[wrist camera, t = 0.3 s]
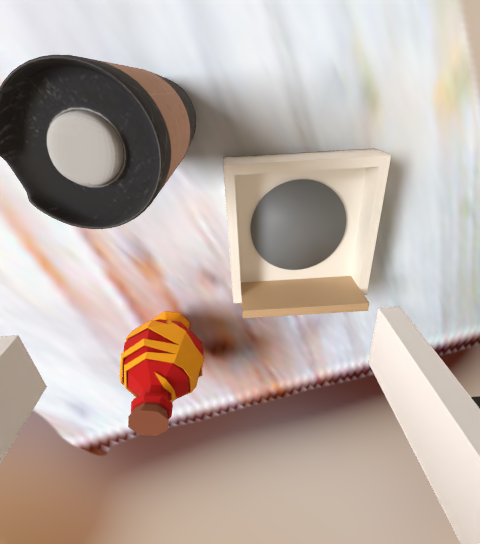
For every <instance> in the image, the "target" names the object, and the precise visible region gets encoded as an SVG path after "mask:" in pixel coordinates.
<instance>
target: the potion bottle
mask: <svg viewBox="0 0 480 544" xmlns="http://www.w3.org/2000/svg"><path fill="white" fill-rule="evenodd" d="M189 326H190V322H189V321H188V320H187V319H186V318H185V317H184V316H183V315H182V314H181V313H174V312H166V311H165V312H163V313H162V314H160V315H159V316H157V317H155V318H154V320H152V321H149V322H147V323H144V324H143V325H141V326H140V327H138V328H136V329H135V330H133V331H132V332H131V333H130V334H129V336H128V337H127V338H126V343H125V345H124V352H123V353H122V354H121V363H120V380H121V383H122V384H124V386H125V388H126V389H127V390H128V391H130V392H131V393H132V394H133V395H134V396H135V397H136V398H135V399H134V400H133V401H132V402H131V414H130V416H129V425H128V427H129V428H131V429H132V430H134V431H135V432H136V433H138V434H139V435H150V436H156V435H159V434H161V433H163V432H165V431H167V430H168V421H169V420H168V419H169V418H170V417H171V415H172V407H173V405H172V402H173V401H174V400H175V399H177V398H179V397H182V396H184V395H186V394H188V393H191V392H192V391H193V390H194V389H195V387H196V385H197V381H198V378H199V376H202V367H203V361H204V357H203V348H202V342H201V341H200V340H199V339H198V338H197V337H196V336H195V335H194V334H193V333H192V332H191V331H190V330H189ZM122 376H123V377H122Z"/></svg>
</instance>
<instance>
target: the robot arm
mask: <svg viewBox="0 0 480 544" xmlns="http://www.w3.org/2000/svg"><path fill="white" fill-rule="evenodd" d="M368 363H369V365H370V367H371V369H372V371H373V373H374V374H375V376H376V378H377V380H378V382H379V384H380V386H381V388H382V390H383V392H384V394H385V396H386V398H387V400H388V402H389V404H390V406H391V408H392V410H393V412H394V414H395V416H396V418H397V420H398V422H399V424H400V426H401V428H402V429H403V431H404V433H405V435H406V437H407V439H408V441H409V443H410V445H411V447H412V449H413V451H414V453H415V455H416V457H417V459H418V461H419V463H420V465H421V467H422V469H423V471H424V473H425V475H426V477H427V479H428V480H429V483H430V484H431V487H432V489H433V491H434V492H435V494H436V496H437V498H438V500H439V502H440V504H441V506H442V508H443V510H444V512H445V514H446V516H447V518H448V520H449V522H450V524H451V526H452V528H453V530H454V532H455V533H456V536H457V538H458V539H459V541H460V544H480V397H470V396H469V394H468V393H467V392H466V391H465V389H464V388H463V387H462V385H461V384H460V383H459V381H458V380H457V379H456V378H455V376H454V375H453V374H452V372H451V371H450V370H449V369H448V368H447V366H446V365H445V364H444V362H443V361H442V360H441V358H440V357H439V356H438V355H437V353H436V352H435V351H434V349H433V348H432V347H431V346H430V344H429V343H428V342H427V340H426V339H425V338H424V337H423V335H422V334H421V333H420V331H419V330H418V329H417V328H416V326H415V325H414V324H413V322H412V321H411V320H410V319H409V317H408V316H407V315H406V314H405V312H404V311H403V310H402V308H401V307H400V306H394V307H381V308H378V313H377V319H376V324H375V329H374V335H373V340H372V345H371V351H370V356H369V361H368ZM46 387H47V386H46V384H45V383H44V381H43V379H42V377H41V375H40V374H39V372H38V370H37V368H36V366H35V365H34V363H33V361H32V359H31V357H30V356H29V354H28V352H27V350H26V348H25V347H24V345H23V343H22V341H21V339H20V338H19V336H18V335H14V336H1V337H0V464H1V462H2V460H3V459H4V457H5V455H6V454H7V452H8V450H9V449H10V447H11V445H12V444H13V442H14V440H15V439H16V437H17V435H18V434H19V432H20V430H21V429H22V427H23V425H24V423H25V422H26V420H27V419H28V417H29V415H30V414H31V412H32V410H33V409H34V407H35V405H36V404H37V402H38V400H39V399H40V397H41V395H42V394H43V392H44V390H45V389H46Z"/></svg>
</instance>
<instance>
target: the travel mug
mask: <svg viewBox="0 0 480 544" xmlns="http://www.w3.org/2000/svg"><path fill="white" fill-rule="evenodd" d="M195 128H196V116H195V111H194V107H193V105H192V102H191V100H190V99H189V97H188V95H187V94H186V93H185V92H184V90H183V89H182V88H181V87H179V86H178V85H177V84H175V83H174V82H172V81H170V80H168V79H166V78H164V77H161V76H159V75H157V74H154V73H152V72H149V71H146V70H143V69H138V68H133V67H128V66H123V65H118V64H113V63H108V62H103V61H97V60H93V59H88V58H83V57H77V56H71V55H49V56H42V57H39V58H35V59H32V60H29V61H27V62H26V63H24V64H22V65H20V66H19V67H17V68H16V69H15V70H14V71H12V72H11V73H10V74H9V75H8V77H7V78H6V79H5V80H4V81H3V83H2V85H1V86H0V156H1V157H2V158H3V159H4V160H5V161H6V162H7V163H8V165H9V166H10V167H11V169H12V170H13V172H14V173H15V175H16V176H17V178H18V179H19V181H20V182H21V184H22V185H23V187H24V188H25V190H26V192H27V195H28V199H29V201H30V202H31V203H32V205H34V206H35V207H36V208H37V209H39V210H40V211H42V212H43V213H45V214H47V215H49V216H51V217H52V218H54V219H57V220H59V221H61V222H63V223H66V224H69V225H72V226H77V227H81V228H88V229H105V228H112V227H116V226H120V225H122V224H125V223H127V222H129V221H131V220H133V219H134V218H136V217H138V216H139V215H140V214H141V213H142V212H144V211H145V210H146V209H147V207H148V206H149V205H150V204H151V203H152V202H153V200H154V199H155V197H156V196H157V195H158V193H159V192H160V190H161V189H162V187H163V186H164V185H165V183H166V182H167V181H168V179H169V178H170V176H171V175H172V174H173V172H174V171H175V169H176V168H177V167H178V165H179V164H180V162H181V161H182V159H183V158H184V156H185V154H186V152H187V150H188V147H189V145H190V143H191V141H192V139H193V136H194V133H195Z"/></svg>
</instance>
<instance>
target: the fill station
mask: <svg viewBox="0 0 480 544" xmlns="http://www.w3.org/2000/svg"><path fill="white" fill-rule="evenodd" d="M390 159H391V155H389V154H387V153H384V152H382V151H379V150H377V149H358V150H341V151H324V152H307V153H290V154H273V155H256V156H239V157H224V160H223V169H224V182H225V196H226V210H227V223H228V237H229V250H230V264H231V277H232V291H233V303H242V314H243V318H255V317H271V316H287V315H304V314H320V313H336V312H353V311H368V307H369V302H368V301H367V299H366V298H365V296H364V295H367V290H368V284H369V278H370V273H371V267H372V261H373V256H374V250H375V244H376V239H377V233H378V227H379V222H380V216H381V210H382V205H383V199H384V193H385V188H386V182H387V176H388V171H389V165H390Z"/></svg>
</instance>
